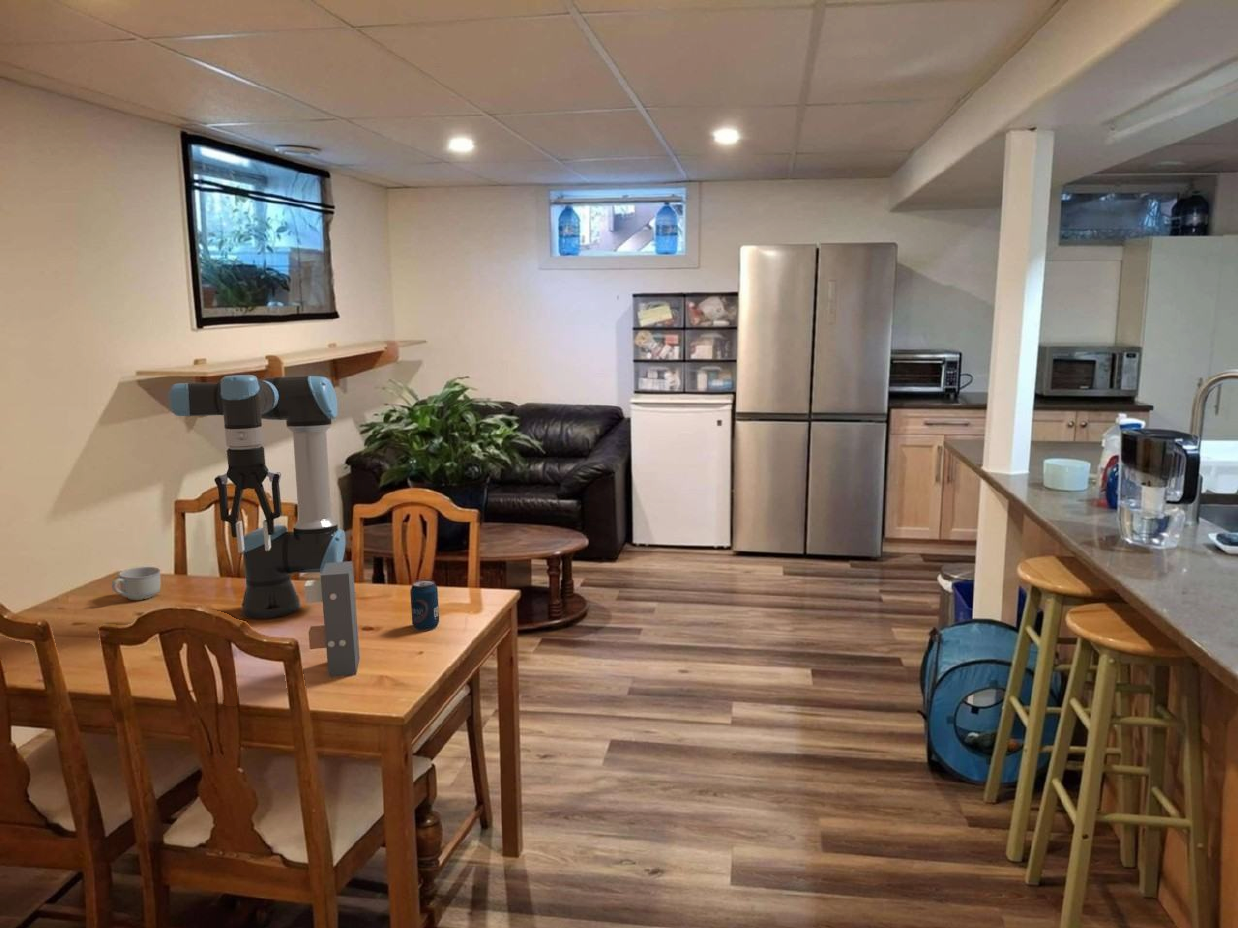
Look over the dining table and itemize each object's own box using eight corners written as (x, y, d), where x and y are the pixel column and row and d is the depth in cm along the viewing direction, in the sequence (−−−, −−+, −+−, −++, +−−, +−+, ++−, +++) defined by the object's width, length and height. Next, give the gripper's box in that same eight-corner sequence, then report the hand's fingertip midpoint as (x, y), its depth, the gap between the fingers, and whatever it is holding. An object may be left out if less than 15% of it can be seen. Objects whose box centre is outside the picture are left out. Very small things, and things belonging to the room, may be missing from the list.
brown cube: (309, 649, 200) (308, 632, 199) (312, 642, 204) (310, 626, 203) (328, 647, 201) (326, 630, 200) (330, 641, 205) (328, 624, 204)
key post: (328, 678, 198) (320, 576, 194) (333, 660, 209) (325, 563, 204) (356, 675, 200) (348, 574, 196) (359, 658, 210) (352, 561, 206)
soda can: (407, 629, 228) (404, 585, 226) (422, 620, 234) (419, 577, 232) (430, 632, 226) (427, 587, 224) (444, 623, 232) (442, 580, 230)
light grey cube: (305, 602, 198) (304, 585, 197) (308, 597, 202) (307, 580, 201) (324, 601, 199) (323, 584, 198) (326, 595, 203) (325, 579, 202)
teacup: (151, 589, 266) (148, 563, 265) (170, 595, 260) (167, 569, 259) (103, 602, 255) (100, 575, 254) (121, 608, 249) (118, 581, 248)
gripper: (196, 451, 186) (207, 557, 190) (285, 447, 189) (294, 551, 194) (205, 446, 193) (215, 548, 197) (291, 442, 197) (299, 542, 201)
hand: (254, 549), depth 195 cm, fingers open, 5 cm apart
